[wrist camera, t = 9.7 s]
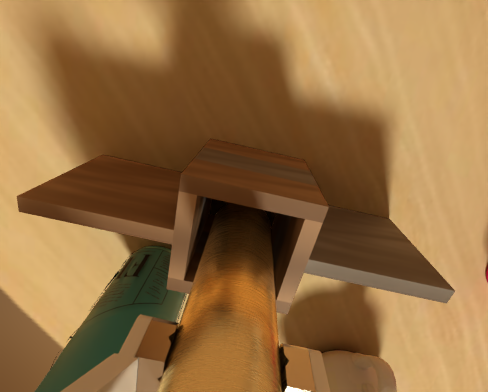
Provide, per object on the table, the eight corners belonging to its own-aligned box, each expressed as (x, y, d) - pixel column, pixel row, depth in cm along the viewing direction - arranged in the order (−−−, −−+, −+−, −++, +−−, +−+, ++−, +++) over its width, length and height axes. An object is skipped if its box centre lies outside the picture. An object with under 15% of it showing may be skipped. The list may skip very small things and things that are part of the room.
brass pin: (250, 190, 18) (206, 718, 3) (281, 235, 19) (352, 766, 4) (201, 218, 19) (-6, 712, 4) (233, 259, 20) (161, 753, 5)
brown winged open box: (102, 113, 22) (8, 135, 14) (407, 183, 23) (489, 242, 15) (102, 200, 25) (25, 259, 17) (369, 258, 26) (419, 342, 18)
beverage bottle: (165, 223, 26) (-65, 573, 8) (209, 269, 28) (109, 638, 10) (119, 255, 28) (-155, 598, 9) (163, 296, 30) (7, 649, 11)
